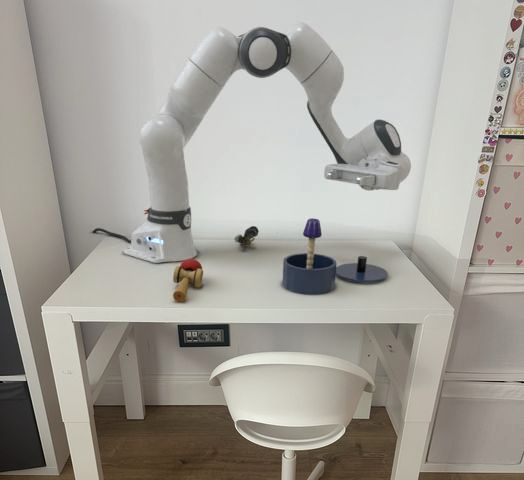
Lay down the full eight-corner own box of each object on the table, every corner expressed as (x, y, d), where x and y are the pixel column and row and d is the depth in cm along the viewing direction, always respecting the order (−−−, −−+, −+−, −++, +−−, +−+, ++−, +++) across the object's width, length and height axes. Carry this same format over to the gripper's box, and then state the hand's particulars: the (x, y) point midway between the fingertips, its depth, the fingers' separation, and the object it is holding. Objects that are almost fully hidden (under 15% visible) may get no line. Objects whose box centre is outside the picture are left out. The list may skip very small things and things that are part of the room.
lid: (326, 279, 136) (328, 260, 134) (343, 264, 148) (345, 246, 145) (379, 288, 130) (382, 269, 128) (392, 272, 142) (395, 254, 139)
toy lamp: (320, 282, 132) (325, 218, 124) (313, 287, 129) (317, 222, 121) (304, 278, 134) (308, 216, 126) (296, 283, 131) (300, 219, 123)
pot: (274, 288, 129) (274, 264, 126) (294, 273, 140) (295, 250, 137) (323, 298, 124) (325, 273, 121) (341, 281, 134) (343, 258, 131)
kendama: (199, 307, 120) (210, 272, 135) (192, 284, 117) (204, 251, 131) (168, 311, 121) (182, 276, 136) (161, 288, 118) (176, 255, 132)
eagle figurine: (261, 248, 156) (263, 235, 163) (248, 230, 153) (251, 218, 160) (241, 259, 159) (244, 246, 166) (228, 241, 156) (232, 229, 163)
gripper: (342, 156, 141) (312, 160, 132) (407, 165, 129) (379, 170, 120) (339, 180, 144) (310, 185, 135) (403, 190, 132) (375, 197, 123)
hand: (343, 178), depth 127 cm, fingers open, 8 cm apart
